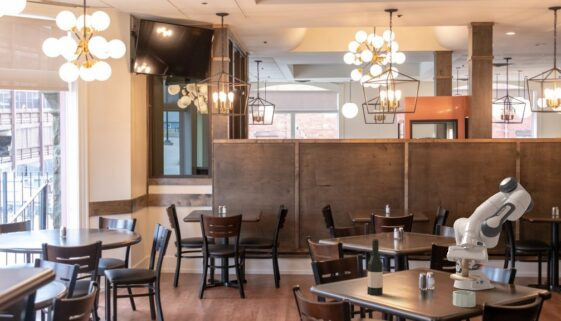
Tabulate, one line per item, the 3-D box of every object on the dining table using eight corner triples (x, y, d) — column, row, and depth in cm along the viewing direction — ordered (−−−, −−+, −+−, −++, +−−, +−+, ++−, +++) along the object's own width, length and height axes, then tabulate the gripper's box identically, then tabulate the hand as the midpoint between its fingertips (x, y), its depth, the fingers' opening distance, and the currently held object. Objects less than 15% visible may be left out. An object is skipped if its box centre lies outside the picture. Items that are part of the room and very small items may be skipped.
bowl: (467, 301, 351) (467, 290, 351) (479, 306, 341) (479, 294, 341) (448, 302, 348) (448, 291, 348) (460, 307, 338) (460, 295, 338)
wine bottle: (365, 292, 372) (366, 237, 371) (380, 292, 373) (381, 237, 372) (369, 295, 364) (369, 239, 363) (384, 295, 364) (384, 239, 364)
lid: (465, 274, 354) (465, 255, 354) (487, 279, 341) (487, 259, 341) (443, 277, 347) (443, 257, 347) (465, 282, 334) (465, 262, 334)
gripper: (448, 241, 355) (443, 262, 346) (488, 243, 345) (484, 265, 337) (450, 248, 359) (445, 269, 350) (490, 251, 349) (486, 273, 341)
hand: (465, 267), depth 343 cm, fingers closed on lid, 3 cm apart
